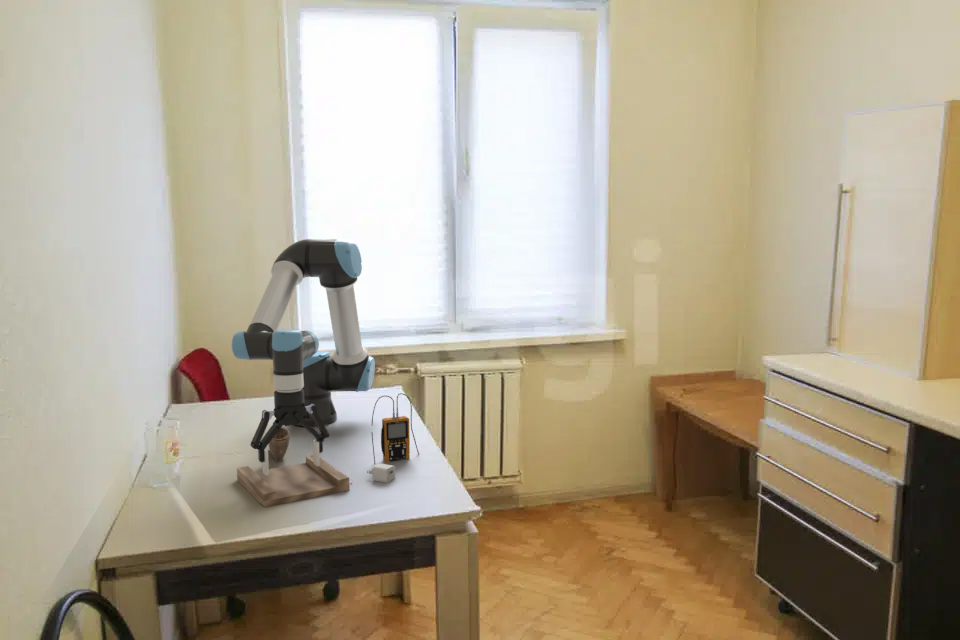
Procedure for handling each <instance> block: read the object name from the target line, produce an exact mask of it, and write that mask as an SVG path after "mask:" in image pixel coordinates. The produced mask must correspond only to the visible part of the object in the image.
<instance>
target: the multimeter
mask: <svg viewBox="0 0 960 640" xmlns="http://www.w3.org/2000/svg"><path fill="white" fill-rule="evenodd" d="M399 395H403V396H405V397H406V398H407V399H408V401H409V404H410V418H409V417H407V416H405V415H402V416H399V404H398V398H399ZM384 397H385V395H381V396H379V397H378V398H377V400H376V402H375V404H374V406H373V411H372V415H371V417H372V418H371V425H373V423H374V422H373V420H374V414H375V409H376V406H377V403H378V401H379V400H380V399H381V398H384ZM386 397H387V398H389V399H391V400H392V405H393V406H392V417H384V418H382V420H381V428H380V431H381V432H380V446H381V452H382V461H384V464H388V463H391V462H396V461H403V460H410V457H411V456H410V453H411V451H410V450H411V449H410V430H411V433H412V437H413V440H414V444H415V448H416V450H417V454H418V455H420V452H419V449H418V446H417V442H416V438H415V435H414V432H413V431H414V430H413V426H412V424H413V423H412V421H413V419H412V417H413V416H412V415H413V414H412V413H413V410H412V409H413V405H412V401H411V399H410V397H409V396H408V395H406V394H405V393H398V394H397V397H396V412H395V401H394V399H393V397H391V396H390V395H386ZM395 413H396V414H395ZM373 434H374V433H371V443H372V451H373V453H372V455H373V461H374V463H373V464H374V465H376V455H375V450H374V449H375V448H374V447H375V446H374V436H373Z"/></svg>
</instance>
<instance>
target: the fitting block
mask: <svg viewBox="0 0 960 640" xmlns="http://www.w3.org/2000/svg"><path fill="white" fill-rule="evenodd" d="M236 481H238V482H239V483H240V484H241V486H243V488H245V490H247V491H248V493H249V494H250V495H251V496H253V497H254V498H255V500H257V502H258V503H259V504H260V505H261V506H262V507H264V508H266V507H267V508H268V507H272V506H277V505H283V504H287V503H292V502H297V501H303V500H307V499H313V498H318V497H324V496H327V495H333V494H338V493H344V492H348V491H350V489H351V488H350V477H349V476H348V475H346V474H344V473H343V472H341V471H340V470H339V469H338V468H336V467H334V466H333V465H331V464H330V463H328V462H327V460H324V459H323V458H321V457H320V466H316V465H314V462H313V454H312V455H308V456H305V462H302V463H297V464H290V465H285V466H277V467H274V468H269V475H265V474H264V473H263V469H262V470H255V471H254V470H253V469H252V468H251V467H250V466H248V465H247V466H241V467H240V466H239V467H237V468H236Z"/></svg>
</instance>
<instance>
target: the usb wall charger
mask: <svg viewBox="0 0 960 640" xmlns="http://www.w3.org/2000/svg"><path fill="white" fill-rule="evenodd" d="M366 473H367V474H369V475H372V480H373V481H374V482H375V481H376V482H381V483H384V484H385V483H387V484H388V483H389V482H392V480H394V479H396V466H395V465H391V464H388V463H378V464H375V465H374V466H373V467H372V468H371V470H366Z"/></svg>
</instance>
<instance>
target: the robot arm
mask: <svg viewBox="0 0 960 640" xmlns="http://www.w3.org/2000/svg"><path fill="white" fill-rule="evenodd" d="M270 269H271V270H270V271H271V277H270V280H269V281H268V284H267V285H266V288H265V290H264V293H263V294H262V296H261V299H260V302H259V303H258V306H257V308H256V310H255V312H254V314H253V317H252V318H251V320H250V323H249V325H248V327H247V330H245V331H244V330H242V331H238V332H236V333H234V335H233V337H232V338H231V339H232V340H231V350H232V351H231V352H232V353H233V355H234V357H235V358H237V359H238V360H239V359H240V360H246V361H247V360H249V361H252V360H253V361H255V360H257V361H260V360H261V361H262V360H263V361H266V360H267V361H272V366H273V367H272V369H273V371H272V372H273V373H272V374H273V389H274V392H273V399H274V400H273V402H274V408H273V410H266V409H263V410H262V411H261V418H260V422H259V424H258V426H257V428H256V431H255V433H254V436H253V437H252V440H251V441H250V442H251V443H250V447H251V448H253V450H257V453H258V458H257V459H258V461H259V462H260V463H262V470H263V473H264V474H265V475H269V469H270V467H269V466H270V465H269V450H268V449H267V447H268V446H269V442H270V441H271V440H272V438H273V437H274V436H275V434H276V433H277V431H278V430H279V429H280V428H281V427H289V426H291V425H293V426H300V427H304V428H305V429H306V430H307V431H308V432H309V434H311V435H312V436H313V438H315V439H313V440H312V455H313V462H314V465H316V466H320V458H321V457H320V455H321V453H323V450H324V449H323V446H324V445H323V442H325V439H327V438H329V437H330V434H329V431H328V430H327V428H326V425H330V424H333V423H335V422H337V420H338V414H337V413H338V412H337V410H336V408H335V405H334V403H333V399H332V392H356V393H358V392H368V391H369V390H370V389H371V387H372V385H373V383H374V377H375V369H376V361H375V358H374V356H369V353H368V350H367V348H365V347H364V346H363V343H362V336H361V331H360V323H359V322H360V321H359V317H358V316H359V315H358V309H357V301H356V294H355V288H354V287H355V286H354V284H356V282H357V281H358V277H360V275H361V274H362V255H361V252H360V249H359V247H358V244H356V242H355V241H353V240H352V239H344V238H337V239H335V238H334V239H333V238H328V239H326V238H325V239H323V238H322V239H318V238H317V239H315V238H314V239H313V238H312V239H311V238H305V239H301V240H298V241H296V242H294V243H292V244H290V245H289V246H287V248H285V249H284V250H283V251H282V252H281V253H280V254H279V255H278V256H277V257H276V259H275V261H273V265H272V266H271V268H270ZM304 278H318V279H319V284H320V286H321V287H323V288H324V289H325V292H326V297H327V302H328V303H327V304H328V310H329V315H330V322H331V323H330V324H331V329H332V334H333V336H332V337H333V339H334V341H333V342H334V347H335V351H334V352H333V354H332V355H331V353H330V351H318V349H319V348H320V346H319V345H320V342H319V338H318V336H316V334H315V333H314V332H312V331H310V330H301V329H297V328H281V329H279V327H280V324H281V322H282V320H283V318H284V315H285V313H286V311H287V308H288V305H289V303H290V301H291V300H292V297H293V293H294V291H295V289H296V286H298V285H300V284H301V283H302V281H303V280H304ZM272 417H274V418H275V419H274V421H273V422H272V425H271V426H270V427H269V429H268V430H267V432H266V433H265V431H266V429H267V427H268V425H269V422H270V420H271V419H272ZM314 427H317V429H318V430H319V432H320V433H319V432H318V431H317V430H316V429H315V428H314Z"/></svg>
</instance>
